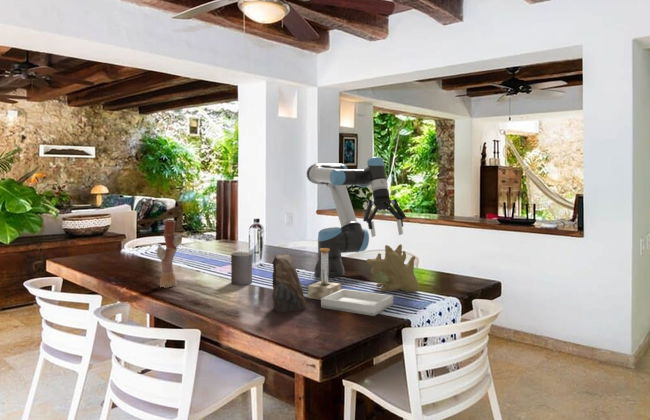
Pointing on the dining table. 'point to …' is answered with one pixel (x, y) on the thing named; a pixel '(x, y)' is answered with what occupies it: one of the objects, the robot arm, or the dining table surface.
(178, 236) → the abstract sculpture
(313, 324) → the dining table surface
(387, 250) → the decorative coral
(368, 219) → the robot arm
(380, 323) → the dining table surface
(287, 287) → the brown rock
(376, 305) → the tray
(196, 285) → the dining table surface
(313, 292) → the pin block
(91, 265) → the dining table surface
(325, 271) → the steel pin
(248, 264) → the pillar candle
